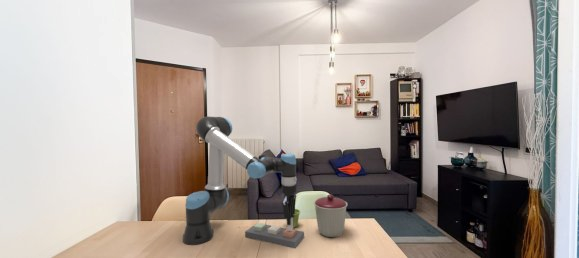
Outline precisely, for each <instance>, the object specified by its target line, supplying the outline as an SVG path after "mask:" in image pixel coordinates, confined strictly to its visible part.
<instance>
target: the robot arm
mask: <svg viewBox="0 0 579 258" xmlns="http://www.w3.org/2000/svg"><path fill="white" fill-rule="evenodd" d="M195 131H196V133H197V136H198V137H200V138H201V140H202V141H204V142H206V144H207V143H208V144H209V147H208V148H209V150H208V151H209V152H208V153H209V154H208V170H207V171H208V174H207V175H208V176H207V184H206V185H205V186H204V190H199V191H194V192H193V193H190V194H188V195H187V197H186V198H185V220H186V221H185V222H186V223H185V224H186V225H185V227H184V228H185V229H184V233H183V235H182V242H183V243H184V244H186V245H191V246H193V245H195V246H196V245H200V244H204V243H207V242H209V241H210V240H212V239H213V237H214V230H213V227H212V223H211V221H210V220H211V218H210V214H213V212H215V211H217V210H219V209H222V208H224V207H225V206H226V205H227V204H228V202H229V199H230V194H229V191H228V189H227V187H226V185H225V184H224V176H225V175H224V173H225V172H224V170H225V155H226V156H228V157H229V158H230V159H232V160H234V162H236V163H237V164H239V165H240V166H241V167H243V168H245V170H246V171H247V174H248V176H249V177H250V178H251V179H253V180H254V179H255V180H256V179H260V178H263V177H265V176H266V175H268V174H270V173H281V192H282V193H283V194H284V196H283V197H284V199H283V200H282V201H281V205H282V209H283V215H284V216H283V217H284V219H286V218H287V221H286V228H287V231H293V229H294V228H293V217H295V216H294V215H293V214H295V209H296V203H297V195H296V192H297V191H298V190H297V180H298V179H297V160H296V159H297V158H296V155H295V154H293V153H283V154H281V156H280V157H268V156H267V157H261V158H259V157H257V156H256V155H254V154H253V153H252V152H250V151H249V150H247V149H245V147H243V146H241V145H240V144H239V143H237V142H236V141H235V140H234V139H232V138H230V137H229V136H230V135H231V134H232V132H233V125H232V122H231V121H230V120H229V119H228V118H226V117H224V116H223V117H222V116H203V117H200V119H199V120H198V121H197V122H196V125H195Z"/></svg>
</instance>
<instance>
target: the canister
mask: <svg viewBox="0 0 579 258" xmlns="http://www.w3.org/2000/svg"><path fill="white" fill-rule="evenodd" d="M313 205H314V208H315V215H316V222H317V229H318V232H319V233H320V234H321V235H322V236H324V237H327V238H337V237H340V236H342V235H343V233H344V230H345V225H346V224H345V222H346V216H347V215H346V214H347V207H348V201H345V199H342V198H339V197H335V196H334V195H333V194H327V196H324V197H323V196H322V197H319V198H318V199H316V200H314V202H313Z"/></svg>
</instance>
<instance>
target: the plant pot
mask: <svg viewBox="0 0 579 258" xmlns="http://www.w3.org/2000/svg"><path fill="white" fill-rule="evenodd" d="M293 215H294V216H295V217H293V229H295V228H297V227H298V226H299V218H300V217H299V216H300V215H301V210H300V209H297V208H295V214H293ZM285 220H286V222H287V218H285Z"/></svg>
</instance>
